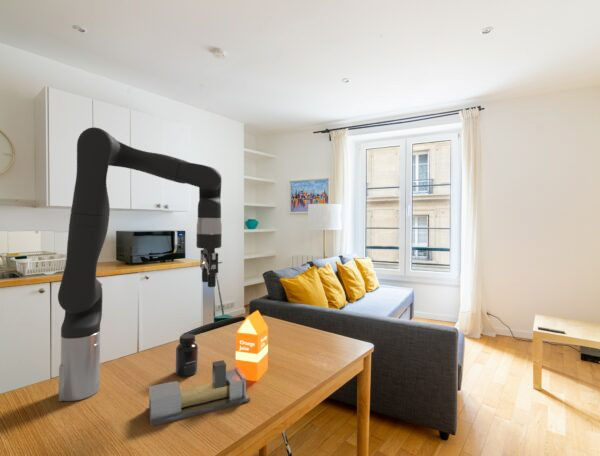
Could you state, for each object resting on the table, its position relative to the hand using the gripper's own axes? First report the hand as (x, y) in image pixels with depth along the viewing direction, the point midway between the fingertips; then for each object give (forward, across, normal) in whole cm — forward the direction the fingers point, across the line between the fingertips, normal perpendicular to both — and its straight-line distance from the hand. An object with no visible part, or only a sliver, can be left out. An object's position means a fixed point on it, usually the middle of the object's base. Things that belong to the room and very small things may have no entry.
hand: (208, 284), depth 100 cm
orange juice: (+30, +2, +14) cm, 33 cm away
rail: (+30, +13, -4) cm, 33 cm away
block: (+29, +13, -3) cm, 32 cm away
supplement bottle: (+30, -8, -5) cm, 32 cm away
